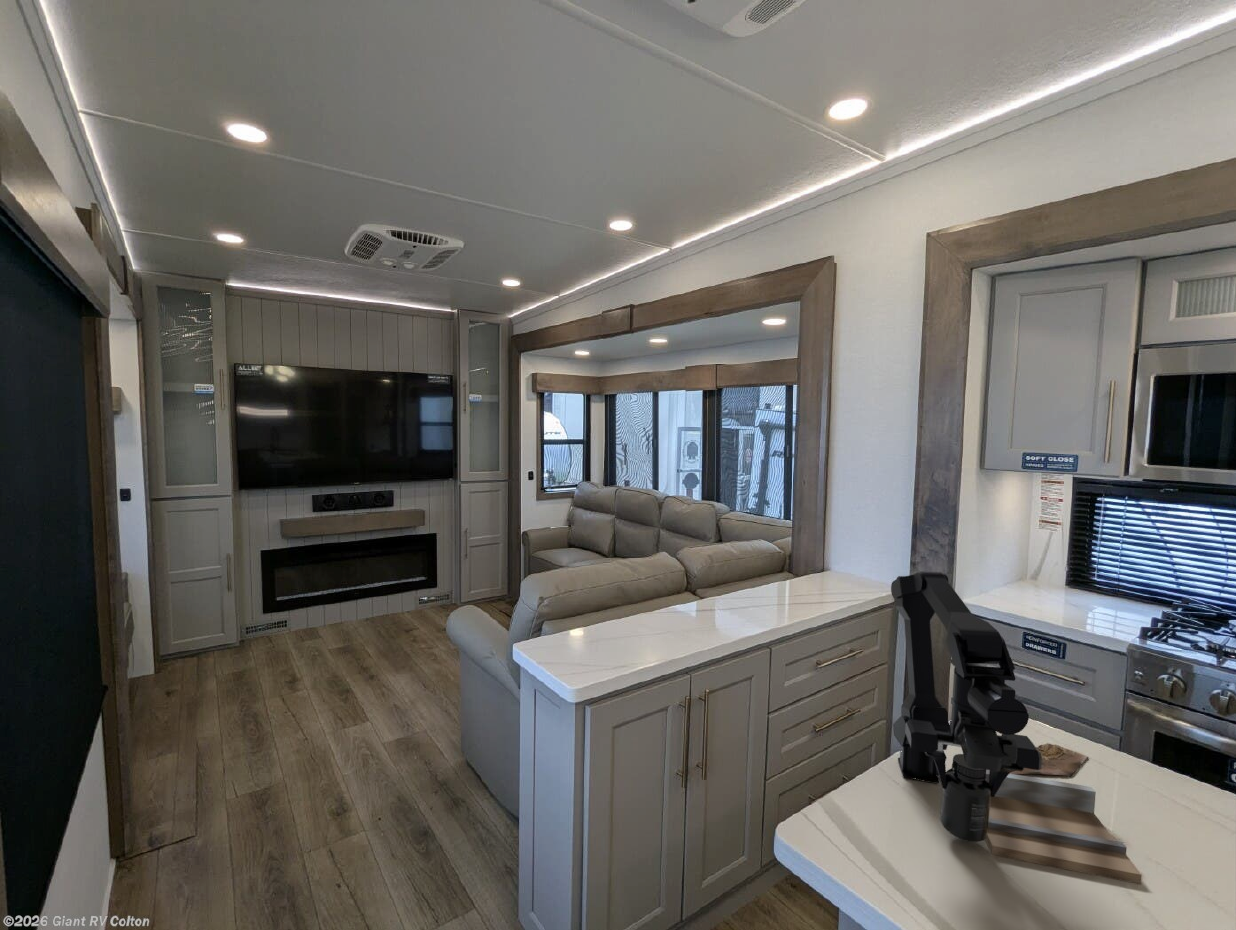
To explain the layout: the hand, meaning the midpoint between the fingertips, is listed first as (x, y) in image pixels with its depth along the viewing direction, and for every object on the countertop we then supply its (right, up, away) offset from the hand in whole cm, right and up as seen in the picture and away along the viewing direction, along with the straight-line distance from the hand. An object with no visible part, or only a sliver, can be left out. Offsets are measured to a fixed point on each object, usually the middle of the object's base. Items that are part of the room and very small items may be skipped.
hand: (967, 791), depth 96 cm
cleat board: (+15, -9, +3) cm, 17 cm away
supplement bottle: (0, -7, +1) cm, 7 cm away
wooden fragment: (+28, -8, +23) cm, 38 cm away
